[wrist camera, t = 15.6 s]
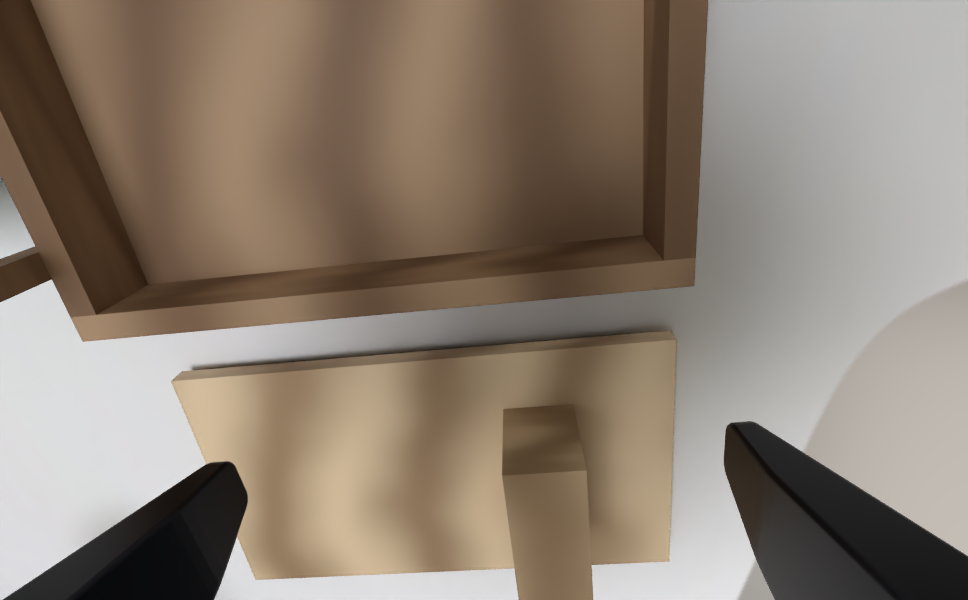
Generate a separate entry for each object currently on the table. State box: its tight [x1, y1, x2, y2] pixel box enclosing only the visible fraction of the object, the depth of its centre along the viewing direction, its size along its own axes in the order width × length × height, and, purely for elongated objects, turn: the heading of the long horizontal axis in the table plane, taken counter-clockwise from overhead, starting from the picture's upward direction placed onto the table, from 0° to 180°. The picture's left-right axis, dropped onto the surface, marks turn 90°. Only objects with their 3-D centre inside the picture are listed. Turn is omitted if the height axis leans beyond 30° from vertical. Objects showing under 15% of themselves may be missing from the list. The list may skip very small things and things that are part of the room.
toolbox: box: [0, 0, 708, 342], centre depth 15 cm, size 23×13×8 cm, turn 97°
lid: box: [171, 330, 677, 600], centre depth 23 cm, size 21×12×6 cm, turn 97°
